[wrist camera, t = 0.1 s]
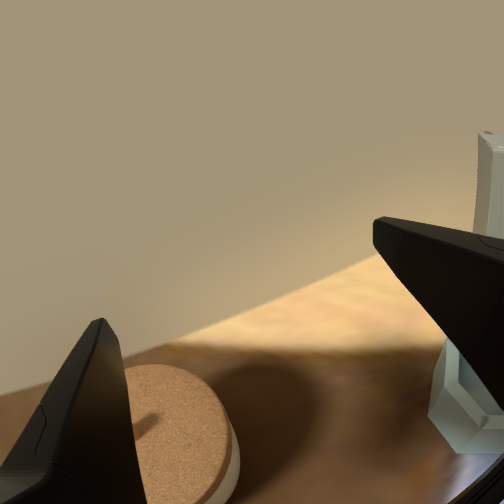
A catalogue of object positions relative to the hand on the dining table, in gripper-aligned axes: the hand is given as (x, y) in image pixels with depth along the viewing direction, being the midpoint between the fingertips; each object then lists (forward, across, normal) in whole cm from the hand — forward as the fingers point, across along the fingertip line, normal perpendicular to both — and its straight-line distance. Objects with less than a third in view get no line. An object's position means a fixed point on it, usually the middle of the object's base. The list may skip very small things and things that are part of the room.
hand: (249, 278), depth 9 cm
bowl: (-4, -15, +17) cm, 23 cm away
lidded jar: (+2, +8, +17) cm, 19 cm away
